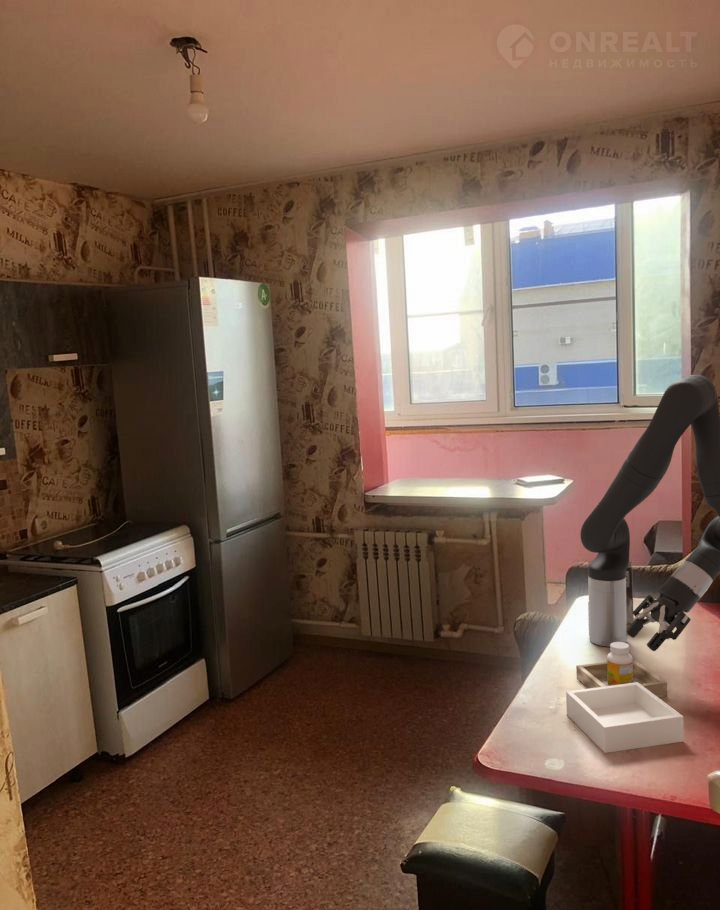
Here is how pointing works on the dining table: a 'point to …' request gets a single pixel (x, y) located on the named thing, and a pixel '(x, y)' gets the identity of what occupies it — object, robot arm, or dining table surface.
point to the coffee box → (629, 594)
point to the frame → (652, 681)
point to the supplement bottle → (619, 664)
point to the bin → (624, 717)
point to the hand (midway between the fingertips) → (639, 641)
